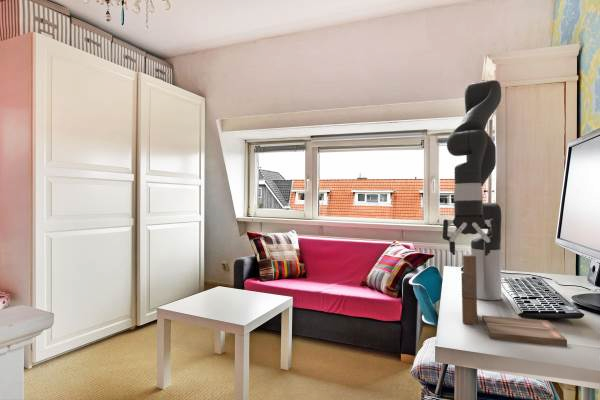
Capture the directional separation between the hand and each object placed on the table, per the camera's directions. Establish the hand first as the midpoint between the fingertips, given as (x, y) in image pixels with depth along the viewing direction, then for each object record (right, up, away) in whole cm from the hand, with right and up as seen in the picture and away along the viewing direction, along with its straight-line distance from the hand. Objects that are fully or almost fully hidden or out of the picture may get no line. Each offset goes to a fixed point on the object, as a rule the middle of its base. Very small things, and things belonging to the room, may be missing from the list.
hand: (469, 254), depth 104 cm
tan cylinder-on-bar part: (0, -19, 0) cm, 19 cm away
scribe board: (+8, -18, -11) cm, 23 cm away
